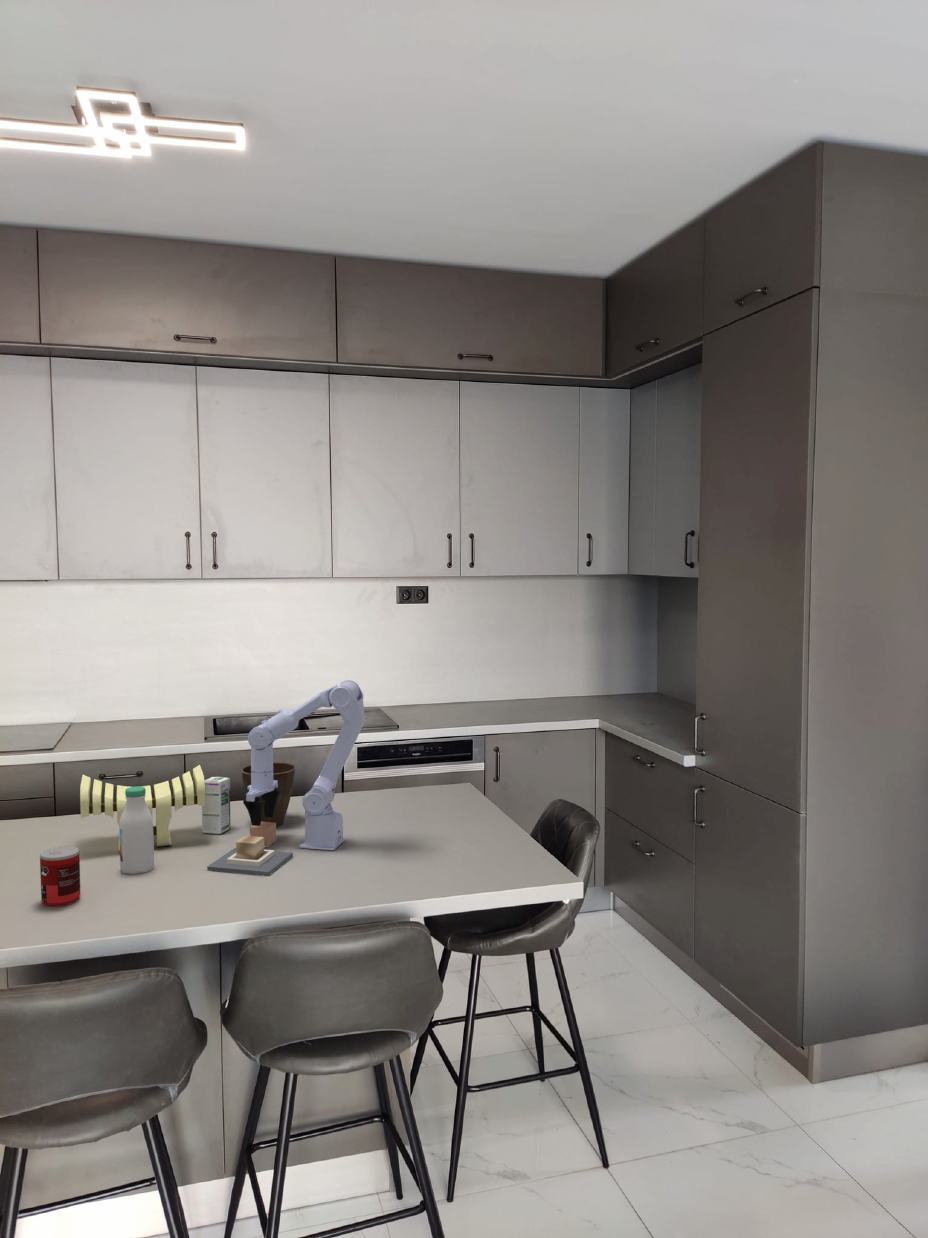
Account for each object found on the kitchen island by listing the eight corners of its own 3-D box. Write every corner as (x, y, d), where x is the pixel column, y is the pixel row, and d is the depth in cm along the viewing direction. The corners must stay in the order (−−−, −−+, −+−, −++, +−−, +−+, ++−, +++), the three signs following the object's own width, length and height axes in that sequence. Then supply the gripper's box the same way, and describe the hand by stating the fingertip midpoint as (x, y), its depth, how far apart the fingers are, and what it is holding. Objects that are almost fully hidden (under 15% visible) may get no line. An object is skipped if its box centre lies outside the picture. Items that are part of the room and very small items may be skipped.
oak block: (264, 856, 218) (264, 837, 218) (255, 863, 213) (254, 843, 213) (245, 855, 219) (245, 835, 219) (236, 862, 214) (236, 842, 214)
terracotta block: (276, 841, 234) (276, 822, 233) (267, 847, 229) (267, 828, 228) (259, 839, 235) (258, 821, 234) (250, 845, 230) (250, 827, 229)
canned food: (49, 894, 196) (47, 846, 196) (85, 893, 197) (84, 845, 196) (35, 908, 189) (33, 858, 188) (73, 907, 189) (72, 857, 189)
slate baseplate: (292, 856, 221) (292, 848, 221) (268, 876, 208) (268, 867, 207) (235, 851, 225) (234, 843, 225) (207, 870, 211) (207, 861, 211)
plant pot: (231, 825, 247) (230, 769, 246) (270, 813, 259) (269, 759, 258) (267, 835, 238) (266, 777, 237) (306, 821, 250) (306, 766, 249)
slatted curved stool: (82, 859, 219) (79, 789, 218) (84, 839, 234) (82, 774, 233) (206, 844, 230) (204, 778, 229) (201, 827, 245) (199, 764, 244)
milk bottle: (161, 866, 214) (159, 785, 213) (139, 876, 207) (137, 793, 206) (135, 862, 217) (133, 783, 216) (113, 872, 210) (111, 791, 208)
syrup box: (220, 834, 238) (221, 781, 238) (201, 833, 239) (201, 780, 239) (230, 829, 243) (231, 777, 243) (211, 827, 245) (211, 776, 244)
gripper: (260, 763, 238) (261, 812, 239) (235, 776, 224) (235, 828, 225) (284, 764, 237) (285, 814, 238) (260, 777, 223) (261, 830, 223)
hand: (262, 821), depth 231 cm, fingers open, 7 cm apart
